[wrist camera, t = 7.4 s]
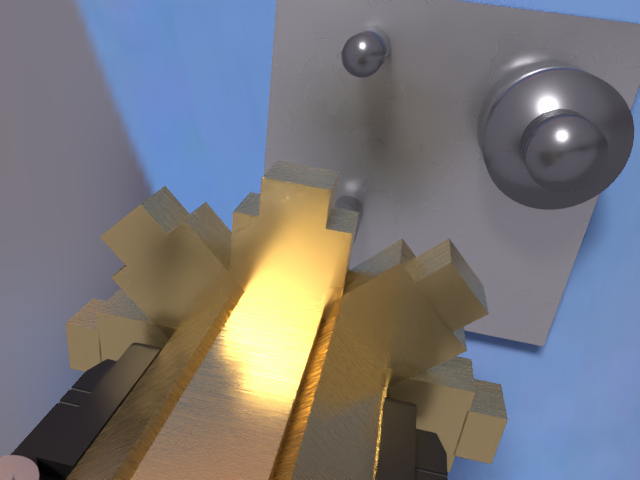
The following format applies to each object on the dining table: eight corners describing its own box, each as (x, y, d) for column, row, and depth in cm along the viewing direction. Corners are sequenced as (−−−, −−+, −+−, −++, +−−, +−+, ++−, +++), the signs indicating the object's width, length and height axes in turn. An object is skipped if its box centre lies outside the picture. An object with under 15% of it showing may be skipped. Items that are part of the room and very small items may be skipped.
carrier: (648, 25, 20) (724, 36, 15) (538, 331, 26) (565, 415, 21) (285, -22, 22) (239, -27, 16) (262, 276, 28) (223, 341, 23)
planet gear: (561, 209, 11) (738, 494, 5) (445, 544, 16) (458, 910, 9) (79, 125, 12) (-287, 266, 6) (105, 460, 17) (-84, 736, 11)
